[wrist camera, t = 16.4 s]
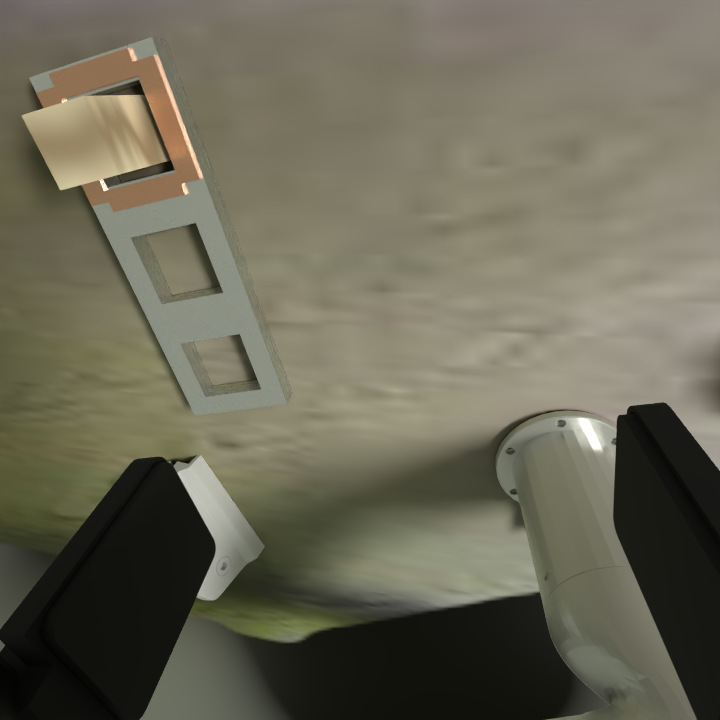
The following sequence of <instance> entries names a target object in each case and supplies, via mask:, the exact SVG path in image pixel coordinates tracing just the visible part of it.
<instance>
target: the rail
mask: <svg viewBox="0 0 720 720" xmlns="http://www.w3.org/2000/svg"><path fill="white" fill-rule="evenodd" d="M29 79H30V81H31V83H32V85H33V87H34V89H35V91H36V94H37V96H38V98H39V100H40V102H41V104H42V106H43V108H46V107H50V106H53V105H56V104H59V103H62V102H65V101H68V100H72V99H75V98H78V97H81V96H103V95H106V94H110V93H113V92H116V91H119V90H123V89H126V88H129V87H132V86H136V85H139V84H141V85H142V88H143V90H144V93H145V95H146V98H147V101H148V103H149V106H150V108H151V111H152V113H153V116H154V118H155V121H156V123H157V126H158V128H159V131H160V134H161V136H162V139H163V141H164V144H165V146H166V149H167V151H168V154H169V156H170V159H171V161H172V164H173V166H174V169H175V170H171V171H167V172H163V173H159V174H155V175H151V176H147V177H143V178H140V179H136V180H132V181H128V182H124V183H121V181H120V179H119V176H118V175H116V176H112V177H109V178H105V179H101V180H98V181H94V182H90V183H87V184H83V185H82V187H83V189H84V191H85V194H86V196H87V198H88V200H89V202H90V204H91V206H92V207H93V209H94V211H95V213H96V215H97V217H98V219H99V221H100V223H101V225H102V227H103V229H104V232H105V234H106V236H107V238H108V240H109V242H110V244H111V246H112V248H113V250H114V252H115V254H116V256H117V258H118V260H119V262H120V264H121V266H122V268H123V270H124V272H125V274H126V276H127V278H128V280H129V282H130V284H131V286H132V288H133V291H134V293H135V295H136V297H137V299H138V301H139V303H140V305H141V307H142V309H143V311H144V313H145V315H146V317H147V319H148V321H149V323H150V325H151V327H152V329H153V331H154V333H155V335H156V337H157V339H158V341H159V343H160V345H161V348H162V350H163V352H164V354H165V356H166V358H167V360H168V362H169V364H170V366H171V368H172V370H173V372H174V374H175V376H176V378H177V380H178V382H179V384H180V386H181V388H182V390H183V392H184V394H185V396H186V398H187V400H188V402H189V405H190V407H191V409H192V411H193V413H194V415H195V416H196V415H204V414H212V413H219V412H227V411H235V410H243V409H251V408H259V407H267V406H275V405H283V404H287V403H288V401H289V399H290V396H291V394H292V390H291V387H290V385H289V382H288V379H287V376H286V373H285V371H284V368H283V365H282V362H281V359H280V357H279V354H278V351H277V348H276V345H275V343H274V340H273V337H272V334H271V331H270V329H269V326H268V323H267V320H266V317H265V315H264V312H263V309H262V306H261V304H260V301H259V298H258V295H257V292H256V290H255V287H254V284H253V281H252V278H251V276H250V273H249V270H248V267H247V264H246V262H245V259H244V256H243V253H242V250H241V248H240V245H239V242H238V239H237V236H236V234H235V231H234V228H233V225H232V222H231V220H230V217H229V214H228V211H227V208H226V206H225V203H224V200H223V197H222V195H221V192H220V189H219V186H218V183H217V181H216V178H215V175H214V172H213V169H212V167H211V164H210V161H209V158H208V155H207V153H206V150H205V147H204V144H203V141H202V139H201V136H200V133H199V130H198V127H197V125H196V122H195V119H194V116H193V113H192V111H191V108H190V105H189V102H188V99H187V97H186V94H185V91H184V88H183V86H182V83H181V80H180V77H179V74H178V72H177V69H176V66H175V63H174V60H173V58H172V55H171V52H170V49H169V46H168V44H167V41H166V40H164V39H159V38H154V37H151V38H148V39H144V40H141V41H138V42H135V43H132V44H129V45H126V46H123V47H120V48H117V49H114V50H111V51H108V52H105V53H102V54H99V55H96V56H93V57H90V58H87V59H84V60H81V61H78V62H75V63H72V64H69V65H66V66H63V67H60V68H57V69H54V70H51V71H48V72H44V73H41V74H38V75H35V76H32V77H29ZM193 223H196V225H197V227H198V230H199V232H200V235H201V238H202V240H203V243H204V245H205V248H206V250H207V253H208V255H209V258H210V260H211V263H212V265H213V268H214V270H215V273H216V276H217V278H218V281H219V283H220V287H215V288H210V289H204V290H199V291H194V292H189V293H183V294H178V295H173V296H172V294H171V292H170V289H169V287H168V285H167V283H166V281H165V278H164V276H163V274H162V272H161V269H160V267H159V265H158V263H157V261H156V258H155V256H154V254H153V252H152V250H151V247H150V245H149V243H148V241H147V238H146V236H145V234H149V233H154V232H158V231H162V230H167V229H171V228H176V227H180V226H185V225H189V224H193ZM237 334H240V336H241V339H242V341H243V344H244V347H245V349H246V352H247V354H248V357H249V359H250V362H251V364H252V367H253V369H254V372H255V374H256V377H257V380H251V381H244V382H237V383H230V384H223V385H216V386H213V385H212V382H211V380H210V378H209V376H208V374H207V371H206V369H205V367H204V365H203V363H202V360H201V358H200V356H199V354H198V351H197V349H196V347H195V345H194V343H193V342H194V341H200V340H206V339H213V338H219V337H225V336H231V335H237Z"/></svg>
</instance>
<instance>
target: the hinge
mask: <svg viewBox="0 0 720 720" xmlns="http://www.w3.org/2000/svg"><path fill="white" fill-rule="evenodd" d="M167 462H169V463H171V464H172V462H171V461H167ZM172 465H173V464H172ZM173 466H174V468H175V470H176V472H177V473H178V475H179V477H180V479H181V481H182V482H183V484H184V486H185V488H186V490H187V491H188V493H189V495H190V497H191V499H192V501H193V502H194V504H195V506H196V508H197V510H198V511H199V513H200V515H201V517H202V519H203V520H204V522H205V524H206V526H207V528H208V529H209V531H210V533H211V535H212V537H213V538H214V541H215V544H216V552H215V556H214V559H213V561H212V564H211V566H210V568H209V570H208V572H207V575H206V577H205V579H204V581H203V584H202V586H201V588H200V590H199V593H198V595H197V597H196V598H199V599H202V600H216V599H217V598H218V597H219V596H220V595H221V594H222V593H223V591H224V590H225V589H226V588H227V587H228V586H229V584H230V583H231V582H232V581H233V580H234V578H235V577H236V576H237V575H238V574H239V572H240V571H241V570H242V569H243V568H244V566H245V565H246V564H247V563H249V562H251V561H253V560H255V559H256V558H257V557H258V556H259V555H260V553H261V552H262V550H263V549H264V547H265V546H264V544H263V543H262V542H261V540H260V539H259V537H258V536H257V534H256V533H255V532H254V530H253V529H252V527H251V526H250V525H249V523H248V522H247V520H246V519H245V517H244V516H243V515H242V513H241V512H240V510H239V509H238V507H237V506H236V505H235V503H234V502H233V500H232V499H231V497H230V496H229V495H228V493H227V492H226V490H225V489H224V487H223V486H222V485H221V483H220V482H219V480H218V479H217V478H216V476H215V475H214V473H213V472H212V470H211V469H210V468H209V466H208V465H207V463H206V462H205V460H204V459H203V458H202V456H201V455H197V456H196V457H195V458H194V459H193V460H192V461H191V462H190V463H189V464H186V463H182V462H178V461H177V462H176V464H175V465H173Z"/></svg>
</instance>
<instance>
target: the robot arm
mask: <svg viewBox="0 0 720 720" xmlns="http://www.w3.org/2000/svg"><path fill="white" fill-rule="evenodd" d="M495 468H496V472H497V478H498V480H499V483H500V485H501V487H502V488H503V489H504V491H505V492H506V493H507V494H508V495H509V496H510V497H511V498H512V499H514V500H515V501H517V502H519V503H520V507H521V511H522V516H523V520H524V524H525V529H526V533H527V537H528V541H529V546H530V550H531V554H532V559H533V563H534V567H535V572H536V576H537V580H538V585H539V589H540V593H541V598H542V602H543V606H544V611H545V615H546V620H547V624H548V628H549V632H550V635H551V638H552V640H553V643H554V645H555V647H556V649H557V651H558V652H559V654H560V655H561V657H562V659H563V660H564V662H565V663H566V664H567V665H568V667H569V668H570V669H571V670H572V671H573V672H574V673H575V674H576V675H577V676H578V677H579V678H580V679H581V680H582V681H583V682H584V683H585V684H586V685H587V686H588V687H590V688H591V689H592V690H593V691H594V692H595V693H596V694H598V695H599V696H600V697H601V698H602V699H603V700H605V701H606V702H607V703H608V704H609V706H608V707H606V708H604V709H602V710H597V711H591V712H586V713H584V714H583V715H577V716H569V717H563V718H555V719H548V720H720V471H719V470H718V468H717V467H716V466H715V464H714V463H713V462H712V461H711V459H710V458H709V457H708V455H707V454H706V453H705V451H704V450H703V449H702V448H701V446H700V445H699V444H698V442H697V441H696V440H695V439H694V437H693V436H692V435H691V433H690V432H689V431H688V430H687V428H686V427H685V426H684V424H683V423H682V422H681V421H680V419H679V418H678V417H677V415H676V414H675V413H674V411H673V410H672V409H671V408H670V406H668V405H667V404H666V403H654V404H645V405H636V406H630V407H629V408H628V410H627V414H626V415H619V416H618V418H617V427H616V426H615V425H613V424H612V423H610V422H609V421H607V420H606V419H604V418H601V417H599V416H597V415H594V414H590V413H586V412H581V411H556V412H551V413H546V414H542V415H539V416H537V417H534V418H531V419H529V420H527V421H525V422H524V423H522V424H520V425H518V426H517V427H516V428H515V429H513V430H512V431H511V432H510V433H509V434H508V435H507V436H506V437H505V439H504V440H503V441H502V443H501V445H500V447H499V448H498V451H497V455H496V462H495ZM215 552H216V544H215V541H214V538H213V537H212V535H211V533H210V531H209V529H208V528H207V526H206V524H205V522H204V520H203V519H202V517H201V515H200V513H199V511H198V510H197V508H196V506H195V504H194V502H193V501H192V499H191V497H190V495H189V493H188V491H187V490H186V488H185V486H184V484H183V482H182V481H181V479H180V477H179V475H178V473H177V472H176V470H175V468H174V466H173V465H172V464H171V463H169V462H167V461H166V460H165V459H164V458H163V457H151V458H141V459H136V460H134V461H133V462H132V463H131V464H130V465H129V466H128V467H127V469H126V470H125V471H124V472H123V474H122V475H121V476H120V478H119V479H118V480H117V481H116V483H115V484H114V485H113V486H112V488H111V489H110V490H109V492H108V493H107V494H106V495H105V497H104V498H103V499H102V501H101V502H100V503H99V504H98V506H97V507H96V508H95V509H94V511H93V512H92V513H91V515H90V516H89V517H88V518H87V520H86V521H85V522H84V523H83V525H82V526H81V527H80V529H79V530H78V531H77V532H76V534H75V535H74V536H73V538H72V539H71V540H70V541H69V543H68V544H67V545H66V546H65V548H64V549H63V550H62V552H61V553H60V554H59V555H58V557H57V558H56V559H55V560H54V562H53V563H52V565H51V566H50V567H49V568H48V569H47V571H46V572H45V573H44V575H43V576H42V577H41V578H40V580H39V581H38V582H37V583H36V585H35V586H34V587H33V589H32V590H31V591H30V592H29V594H28V595H27V596H26V598H25V599H24V600H23V601H22V603H21V604H20V605H19V606H18V608H17V609H16V610H15V611H14V613H13V614H12V615H11V617H10V618H9V619H8V621H7V622H6V623H5V624H4V625H3V627H2V628H1V629H0V640H1V641H2V642H3V643H4V644H5V647H4V648H3V649H2V651H1V652H0V720H139V719H140V718H141V717H142V716H143V714H144V712H145V710H146V709H147V706H148V704H149V702H150V700H151V697H152V695H153V693H154V691H155V689H156V686H157V684H158V682H159V680H160V677H161V675H162V673H163V671H164V668H165V666H166V664H167V662H168V659H169V657H170V655H171V653H172V651H173V648H174V646H175V644H176V642H177V639H178V637H179V635H180V633H181V630H182V628H183V626H184V624H185V621H186V619H187V617H188V615H189V613H190V610H191V608H192V606H193V604H194V601H195V599H196V597H197V595H198V593H199V590H200V588H201V586H202V584H203V581H204V579H205V577H206V575H207V572H208V570H209V568H210V566H211V564H212V561H213V559H214V556H215Z"/></svg>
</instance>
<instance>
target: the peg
mask: <svg viewBox="0 0 720 720" xmlns="http://www.w3.org/2000/svg"><path fill="white" fill-rule="evenodd" d="M21 116H22V118H23V119H24V121H25V123H26V125H27V127H28V129H29V131H30V133H31V135H32V137H33V139H34V141H35V143H36V144H37V146H38V148H39V150H40V152H41V154H42V156H43V158H44V160H45V162H46V164H47V166H48V167H49V169H50V171H51V173H52V175H53V177H54V179H55V181H56V183H57V185H58V187H59V189H60V191H61V190H64V189H68V188H72V187H75V186H79V185H83V184H87V183H90V182H94V181H98V180H101V179H105V178H109V177H112V176H116V175H120V174H123V173H127V172H131V171H134V170H138V169H141V168H145V167H148V166H152V165H156V164H159V163H163V162H166V161H170V160H171V159H170V156H169V154H168V151H167V149H166V146H165V144H164V141H163V139H162V136H161V134H160V131H159V128H158V126H157V123H156V121H155V118H154V116H153V113H152V111H151V108H150V106H149V103H148V101H147V98H146V95H106V96H81V97H78V98H75V99H72V100H68V101H65V102H62V103H59V104H56V105H53V106H50V107H46V108H43V109H40V110H37V111H34V112H31V113H28V114H25V115H21Z"/></svg>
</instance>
